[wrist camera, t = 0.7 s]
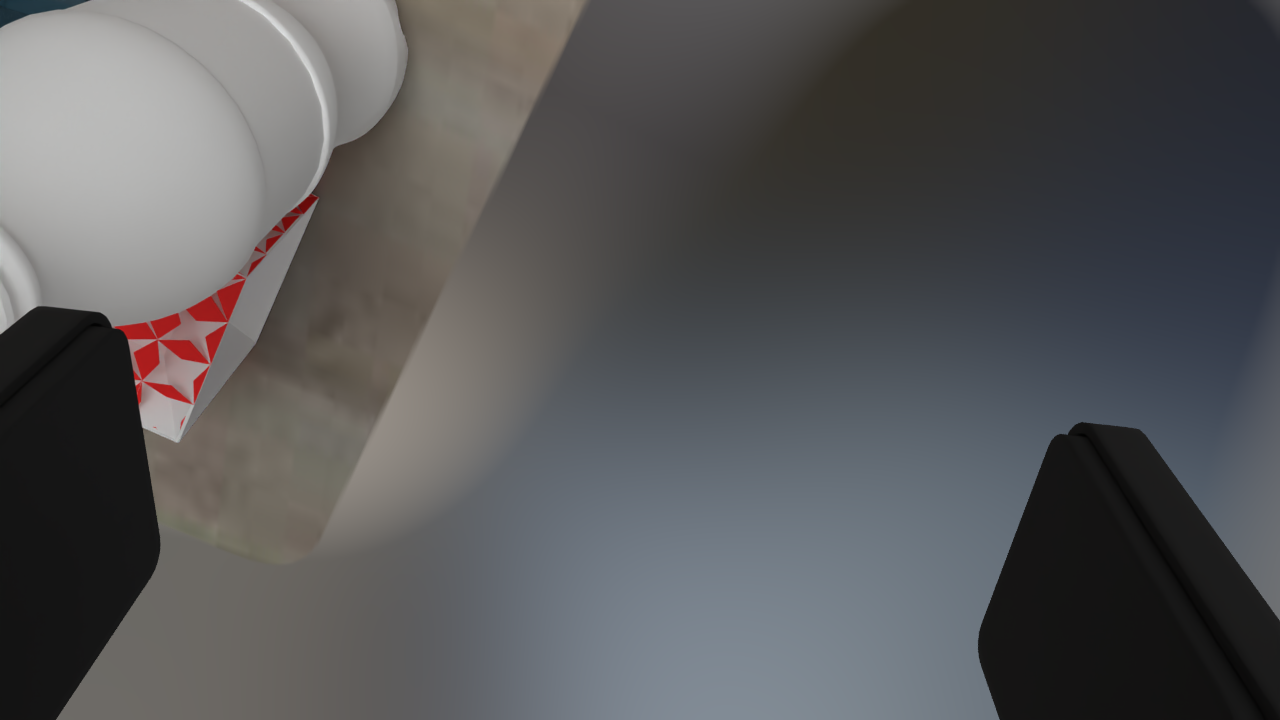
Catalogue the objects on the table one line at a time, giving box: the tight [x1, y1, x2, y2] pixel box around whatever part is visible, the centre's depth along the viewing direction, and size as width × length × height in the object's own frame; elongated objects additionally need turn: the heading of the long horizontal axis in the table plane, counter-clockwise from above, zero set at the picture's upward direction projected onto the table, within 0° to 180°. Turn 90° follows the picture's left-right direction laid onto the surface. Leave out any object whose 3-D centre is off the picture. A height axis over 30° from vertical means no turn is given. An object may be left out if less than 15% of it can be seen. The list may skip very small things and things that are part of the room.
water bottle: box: [0, 0, 408, 334], centre depth 27 cm, size 7×7×25 cm
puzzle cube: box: [112, 193, 319, 443], centre depth 39 cm, size 8×8×8 cm
